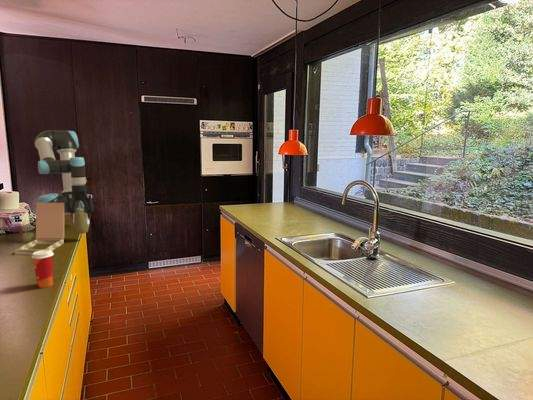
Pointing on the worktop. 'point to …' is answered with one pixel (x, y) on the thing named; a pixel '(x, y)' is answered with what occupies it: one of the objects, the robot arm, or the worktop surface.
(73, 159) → the robot arm
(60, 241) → the frame
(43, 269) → the paper cup
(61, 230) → the lid
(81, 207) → the squeeze bottle
